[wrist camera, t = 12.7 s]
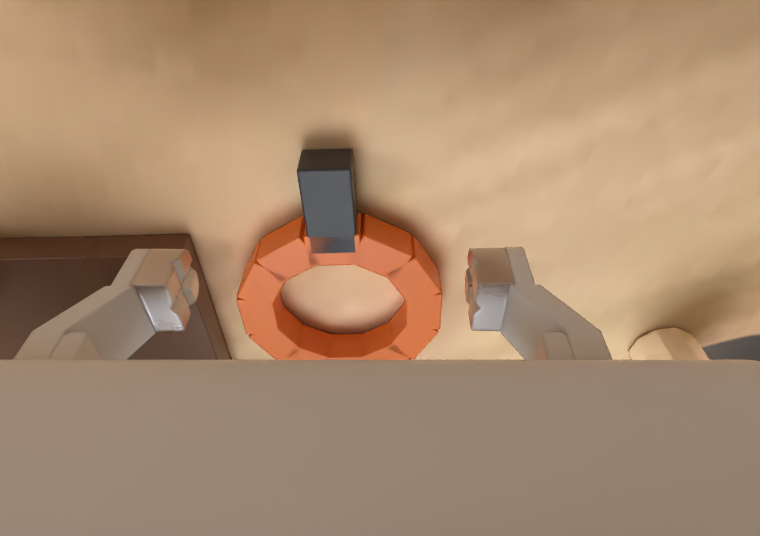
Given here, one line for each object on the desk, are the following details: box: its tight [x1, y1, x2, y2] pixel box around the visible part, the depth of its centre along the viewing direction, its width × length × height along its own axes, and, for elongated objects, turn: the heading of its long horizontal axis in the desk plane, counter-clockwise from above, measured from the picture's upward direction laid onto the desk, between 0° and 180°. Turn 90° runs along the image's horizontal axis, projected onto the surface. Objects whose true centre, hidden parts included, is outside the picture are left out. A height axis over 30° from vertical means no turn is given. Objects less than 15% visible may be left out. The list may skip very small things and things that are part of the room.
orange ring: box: [237, 149, 442, 360], centre depth 23 cm, size 9×12×2 cm
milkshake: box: [629, 327, 710, 360], centre depth 24 cm, size 5×5×10 cm
